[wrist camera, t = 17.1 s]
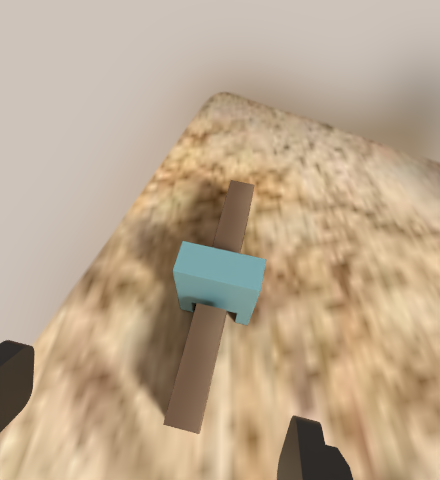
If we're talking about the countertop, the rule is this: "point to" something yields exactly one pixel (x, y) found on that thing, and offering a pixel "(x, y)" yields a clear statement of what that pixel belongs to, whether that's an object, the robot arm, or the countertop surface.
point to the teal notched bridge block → (218, 279)
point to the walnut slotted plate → (207, 324)
